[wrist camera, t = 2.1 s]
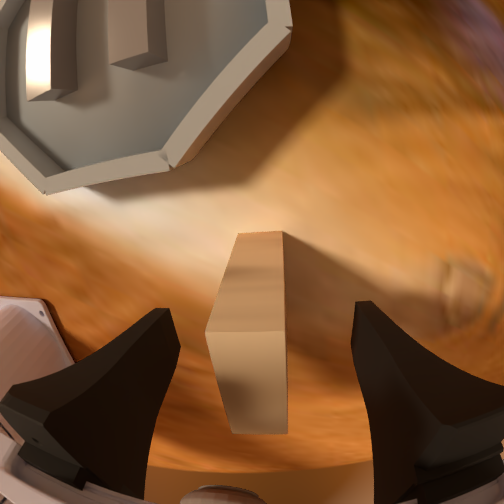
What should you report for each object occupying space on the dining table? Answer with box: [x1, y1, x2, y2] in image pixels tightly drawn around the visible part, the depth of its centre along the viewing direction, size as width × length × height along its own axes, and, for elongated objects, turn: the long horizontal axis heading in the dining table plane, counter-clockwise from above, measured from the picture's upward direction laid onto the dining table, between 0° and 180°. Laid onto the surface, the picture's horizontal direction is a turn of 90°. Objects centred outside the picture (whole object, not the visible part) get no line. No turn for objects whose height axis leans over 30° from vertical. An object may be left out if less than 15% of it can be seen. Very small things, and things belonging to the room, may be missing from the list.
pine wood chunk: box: [205, 231, 288, 434], centre depth 11 cm, size 5×2×7 cm, turn 6°
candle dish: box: [0, 0, 293, 195], centre depth 8 cm, size 16×16×3 cm
